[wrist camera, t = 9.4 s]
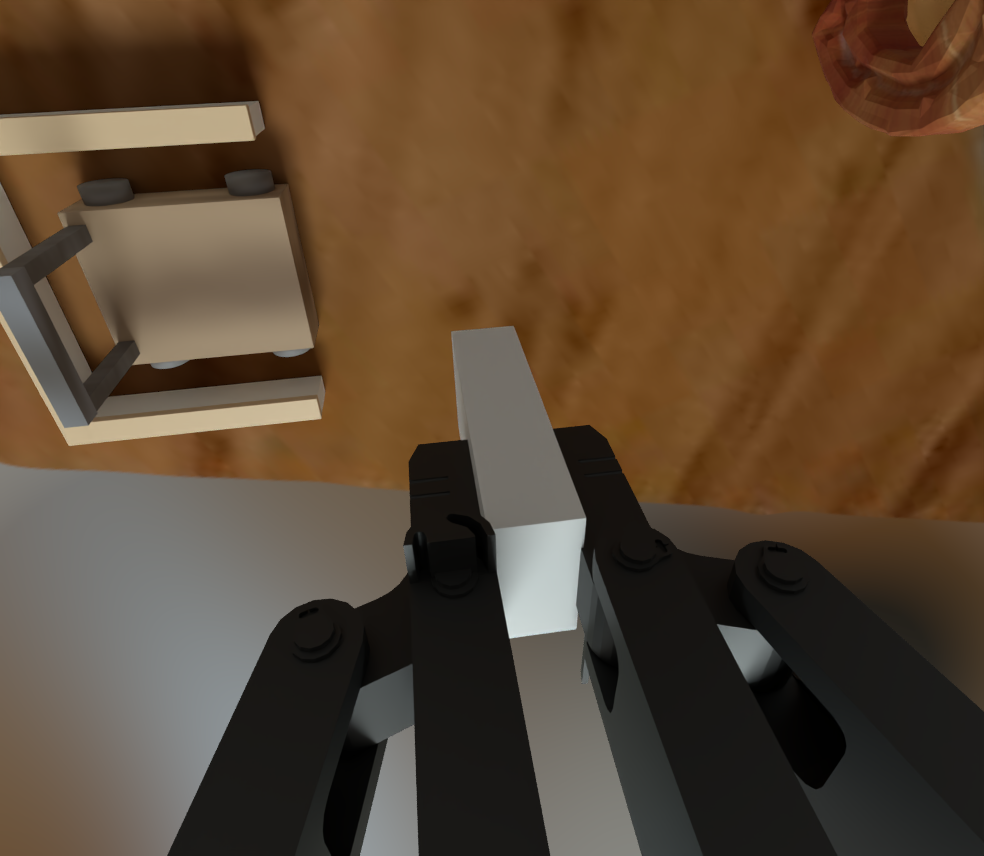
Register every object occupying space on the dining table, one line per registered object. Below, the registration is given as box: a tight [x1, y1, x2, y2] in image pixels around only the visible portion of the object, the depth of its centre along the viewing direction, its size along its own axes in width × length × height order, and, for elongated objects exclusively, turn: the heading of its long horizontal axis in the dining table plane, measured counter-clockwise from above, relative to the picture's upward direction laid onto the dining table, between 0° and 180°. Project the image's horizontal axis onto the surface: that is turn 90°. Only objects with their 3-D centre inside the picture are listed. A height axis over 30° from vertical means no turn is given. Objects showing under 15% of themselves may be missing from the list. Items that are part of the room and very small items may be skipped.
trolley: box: [0, 169, 319, 428], centre depth 28 cm, size 10×10×10 cm
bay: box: [0, 101, 325, 446], centre depth 31 cm, size 17×14×3 cm
